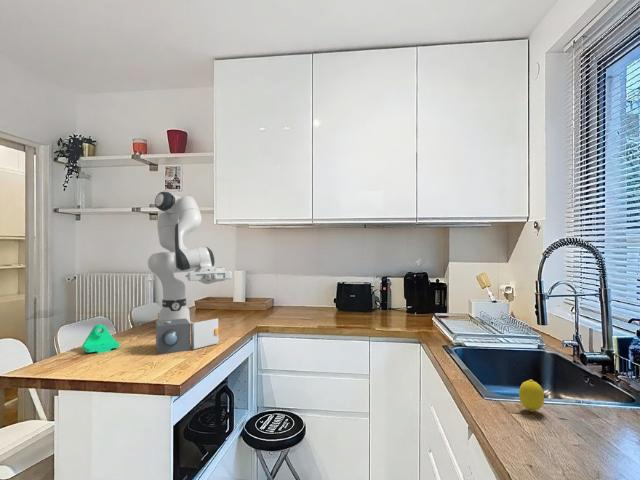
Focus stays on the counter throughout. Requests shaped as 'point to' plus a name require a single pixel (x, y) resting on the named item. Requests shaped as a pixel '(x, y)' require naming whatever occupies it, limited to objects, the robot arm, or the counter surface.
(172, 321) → the camera housing
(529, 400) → the lemon
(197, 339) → the side door
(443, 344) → the counter surface
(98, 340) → the camera mount
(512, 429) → the counter surface
